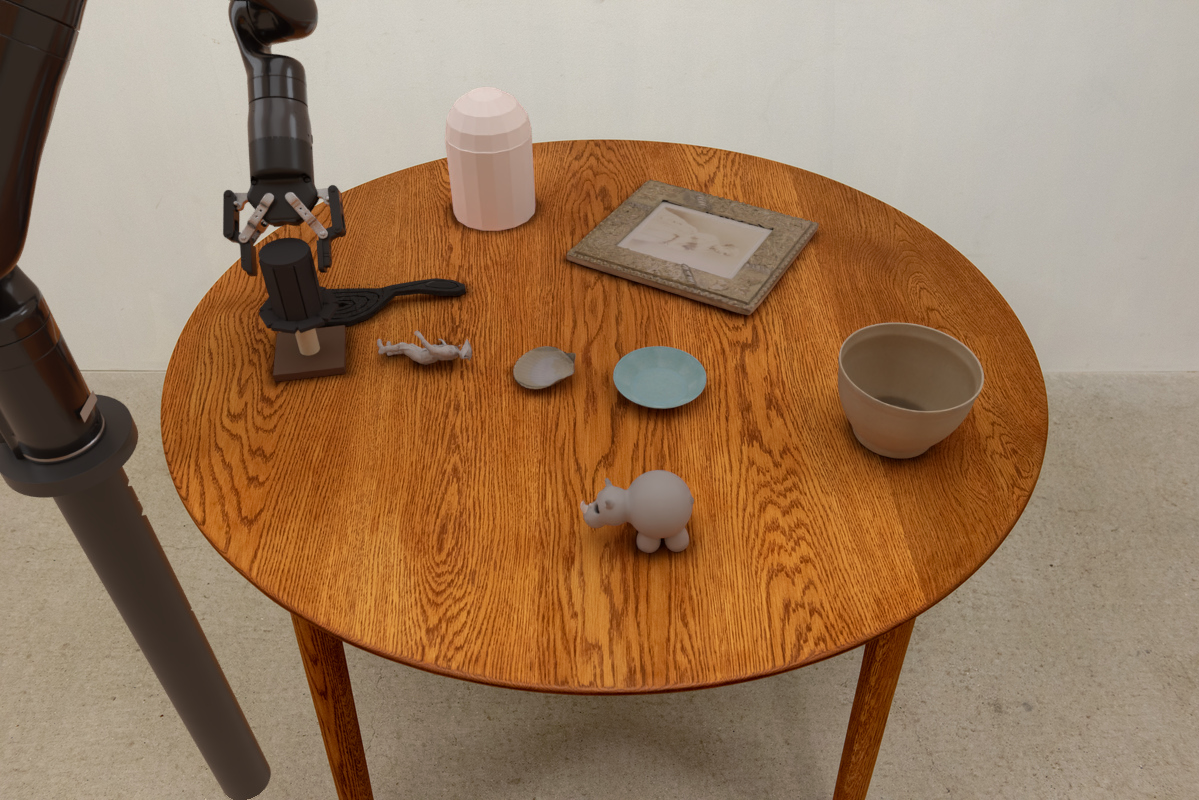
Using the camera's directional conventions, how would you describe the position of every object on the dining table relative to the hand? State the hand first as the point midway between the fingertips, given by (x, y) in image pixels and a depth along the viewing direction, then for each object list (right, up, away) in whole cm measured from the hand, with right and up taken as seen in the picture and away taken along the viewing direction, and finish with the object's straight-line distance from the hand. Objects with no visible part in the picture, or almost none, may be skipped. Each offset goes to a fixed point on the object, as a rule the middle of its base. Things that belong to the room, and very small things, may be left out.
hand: (287, 273), depth 116 cm
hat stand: (0, -10, +10) cm, 14 cm away
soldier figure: (+15, -11, +9) cm, 21 cm away
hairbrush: (+7, -2, +19) cm, 20 cm away
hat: (0, -4, +5) cm, 6 cm away
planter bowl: (+74, -20, 0) cm, 76 cm away
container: (+21, +15, +38) cm, 46 cm away
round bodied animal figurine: (+42, -30, -12) cm, 53 cm away
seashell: (+31, -13, +7) cm, 34 cm away
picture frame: (+53, +8, +30) cm, 61 cm away
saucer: (+46, -14, +5) cm, 48 cm away
